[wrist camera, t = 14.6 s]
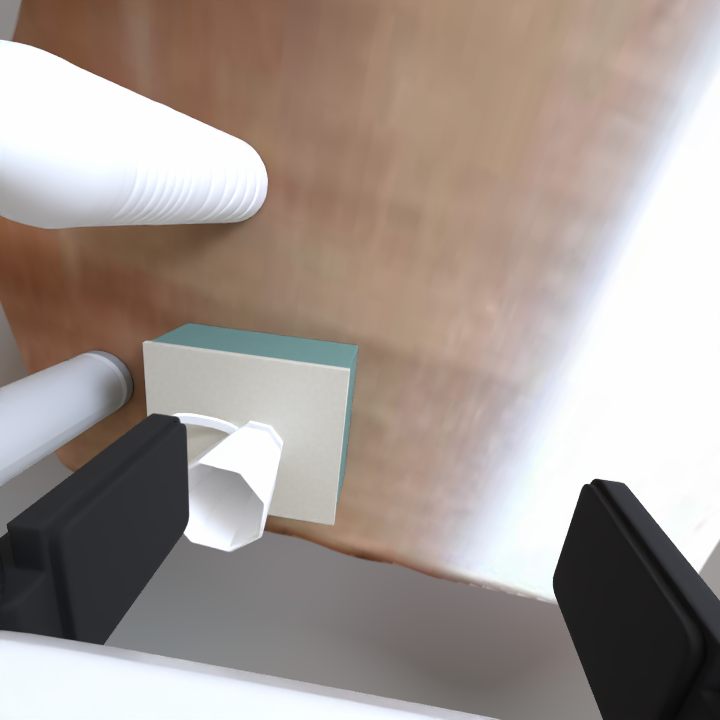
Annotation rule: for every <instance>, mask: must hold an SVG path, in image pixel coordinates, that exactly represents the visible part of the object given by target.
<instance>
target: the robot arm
mask: <svg viewBox="0 0 720 720" xmlns="http://www.w3.org/2000/svg"><path fill="white" fill-rule="evenodd" d="M188 521H189V486H188V454H187V428H186V425H185V424H183V423H181V421H180V419H179V418H178V417H177V416H170V415H164V414H157V413H153V414H151V415H149V416H148V417H147V418H145V419H144V420H143V421H141V422H140V423H139V424H137V425H136V426H135V427H133V428H132V429H131V430H130V431H128V432H127V433H126V434H124V435H123V436H122V437H120V438H119V439H118V440H116V441H115V442H114V443H113V444H111V445H110V446H109V447H107V448H106V449H105V450H103V451H102V452H101V453H99V454H98V455H97V456H95V457H94V458H93V459H92V460H90V461H89V462H88V463H86V464H85V465H84V466H82V467H81V468H80V469H78V470H77V471H76V472H75V473H73V474H72V475H71V476H69V477H68V478H67V479H65V480H64V481H63V482H61V483H60V484H59V485H57V486H56V487H55V488H54V489H52V490H51V491H50V492H48V493H47V494H46V495H44V496H43V497H42V498H40V499H39V500H38V501H37V502H35V503H34V504H33V505H31V506H30V507H29V508H28V509H26V510H25V511H23V512H22V513H21V514H20V515H18V516H17V517H16V518H14V519H13V520H12V521H10V522H9V523H8V524H7V529H8V532H7V533H6V534H5V535H4V536H2V537H1V538H0V720H500V719H495V718H490V717H485V716H480V715H474V714H469V713H464V712H459V711H454V710H449V709H444V708H439V707H433V706H428V705H423V704H418V703H412V702H407V701H402V700H396V699H391V698H386V697H381V696H376V695H370V694H365V693H360V692H354V691H350V690H344V689H339V688H333V687H328V686H323V685H318V684H312V683H307V682H302V681H296V680H291V679H286V678H280V677H275V676H270V675H264V674H259V673H253V672H248V671H242V670H237V669H232V668H226V667H221V666H215V665H210V664H204V663H199V662H193V661H188V660H182V659H177V658H171V657H166V656H161V655H155V654H150V653H144V652H139V651H133V650H128V649H122V648H117V647H110V646H104V643H105V642H106V640H107V639H108V638H109V636H110V635H111V633H112V632H113V631H114V629H115V628H116V626H117V625H118V624H119V622H120V621H121V619H122V618H123V617H124V615H125V614H126V612H127V611H128V610H129V608H130V607H131V605H132V604H133V602H134V601H135V600H136V598H137V597H138V595H139V594H140V593H141V591H142V590H143V589H144V587H145V586H146V584H147V583H148V582H149V580H150V579H151V578H152V576H153V575H154V573H155V572H156V571H157V569H158V568H159V566H160V565H161V564H162V562H163V561H164V559H165V558H166V556H167V555H168V554H169V552H170V551H171V550H172V548H173V547H174V545H175V544H176V543H177V541H178V540H179V538H180V537H181V536H182V534H183V533H184V531H185V529H186V527H187V525H188ZM553 589H554V593H555V596H556V599H557V602H558V604H559V607H560V609H561V612H562V614H563V617H564V620H565V622H566V625H567V627H568V630H569V632H570V635H571V637H572V640H573V643H574V646H575V648H576V651H577V653H578V656H579V659H580V661H581V663H582V666H583V669H584V671H585V674H586V677H587V679H588V682H589V684H590V687H591V690H592V692H593V695H594V697H595V700H596V702H597V705H598V708H599V710H600V713H601V715H602V718H603V720H720V601H719V600H718V598H717V597H716V596H715V594H714V593H713V592H712V591H711V589H710V588H709V587H708V586H707V584H706V583H705V582H704V581H703V579H702V578H701V577H700V576H699V575H698V573H697V572H696V571H695V570H694V568H693V567H692V566H691V565H690V563H689V562H688V561H687V560H686V558H685V557H684V556H683V555H682V554H681V552H680V551H679V550H678V549H677V547H676V546H675V545H674V544H673V542H672V541H671V540H670V539H669V537H668V536H667V535H666V534H665V533H664V531H663V530H662V529H661V528H660V526H659V525H658V524H657V523H656V521H655V520H654V519H653V518H652V516H651V515H650V514H649V513H648V512H647V510H646V509H645V508H644V507H643V505H642V504H641V503H640V502H639V500H638V499H637V498H636V497H635V495H634V494H633V493H632V492H631V491H630V489H629V488H628V487H627V486H626V485H625V484H624V483H621V482H614V481H607V480H601V479H594V480H593V481H592V482H591V483H590V484H585V485H584V486H583V487H582V490H581V493H580V496H579V499H578V502H577V505H576V508H575V511H574V514H573V517H572V520H571V523H570V526H569V530H568V533H567V536H566V539H565V542H564V545H563V548H562V551H561V554H560V557H559V560H558V563H557V567H556V570H555V573H554V576H553Z"/></svg>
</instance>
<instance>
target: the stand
mask: <svg viewBox="0 0 720 720" xmlns="http://www.w3.org/2000/svg"><path fill="white" fill-rule="evenodd" d="M357 354H358V346H357V345H350V344H343V343H335V342H328V341H320V340H313V339H305V338H298V337H290V336H283V335H275V334H267V333H260V332H252V331H245V330H237V329H230V328H222V327H215V326H207V325H200V324H192V323H187V324H185V325H183V326H181V327H179V328H177V329H175V330H173V331H171V332H168V333H166V334H164V335H162V336H160V337H158V338H156V339H154V340H152V341H145V342H143V358H144V373H145V389H146V404H147V417H148V416H149V415H151V414H153V413H157V414H164V415H170V416H171V415H174V414H176V413H192V414H197V415H203V416H208V417H213V418H217V419H220V420H223V421H226V422H229V423H231V424H233V425H235V426H236V427H238V428H239V427H240V426H242V425H244V424H245V423H247V422H249V421H254V422H258V423H262V424H266V425H270V426H271V427H272V428H273V429H274V431H275V432H276V433H277V435H278V436H279V437H280V439H281V440H282V441H283V445H282V451H281V456H280V460H279V464H278V470H277V476H276V481H275V487H274V491H273V495H272V499H271V502H270V506H269V510H268V514H267V515H272V516H278V517H284V518H290V519H296V520H302V521H309V522H315V523H321V524H327V525H334V521H335V512H336V508H337V504H338V500H339V496H340V492H341V488H342V484H343V480H344V474H345V465H346V456H347V446H348V437H349V428H350V419H351V409H352V400H353V391H354V382H355V373H356V363H357ZM183 424H185V425H186V428H187V454H188V463H189V462H190V461H192V460H193V459H194V458H195V457H197V456H198V455H199V454H201V453H202V452H203V451H204V450H206V449H207V448H208V447H210V446H211V445H213V444H215V443H216V442H218V441H220V440H222V439H223V438H225V437H227V436H229V434H228V433H226V432H224V431H221V430H218V429H215V428H212V427H206V426H201V425H195V424H188V423H183Z"/></svg>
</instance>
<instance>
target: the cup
mask: <svg viewBox="0 0 720 720" xmlns="http://www.w3.org/2000/svg"><path fill="white" fill-rule="evenodd" d="M171 416H177V417H178V418H179V419H180V421H181V423H188V424H195V425H201V426H206V427H212V428H215V429H218V430H221V431H224V432H226V433H228V434H229V436H227V437H225V438H223V439H222V440H220V441H218V442H216V443H215V444H213V445H211V446H210V447H208V448H207V449H206V450H204V451H203V452H202V453H201V454H199V455H198V456H197V457H195V458H194V459H193V460H192V461H190V462H189V463H188V486H189V521H188V525H187V527H186V529H185V531H184V533H183V534H184V535H185V536H186V537H187V538H188V539H189V541H190V542H191V543H195V544H199V545H203V546H207V547H211V548H215V549H218V550H222V551H226V552H232V551H234V550H236V549H238V548H240V547H242V546H244V545H247V544H248V543H251V542H253V541H255V540H257V539H259V538H261V537H262V534H263V530H264V526H265V522H266V518H267V514H268V510H269V506H270V502H271V499H272V495H273V491H274V487H275V481H276V476H277V470H278V464H279V460H280V456H281V451H282V445H283V441H282V440H281V439H280V437H279V436H278V435H277V433H276V432H275V431H274V429H273V428H272V427H271V426H270V425H266V424H262V423H258V422H254V421H249V422H247V423H245V424H244V425H242V426H240V427H239V428H238V427H236V426H235V425H233V424H231V423H229V422H226V421H223V420H220V419H217V418H213V417H208V416H203V415H197V414H192V413H176V414H174V415H171Z"/></svg>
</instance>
